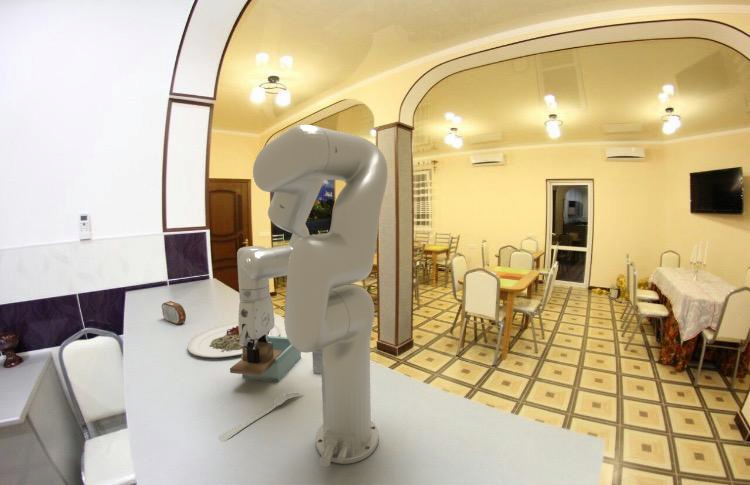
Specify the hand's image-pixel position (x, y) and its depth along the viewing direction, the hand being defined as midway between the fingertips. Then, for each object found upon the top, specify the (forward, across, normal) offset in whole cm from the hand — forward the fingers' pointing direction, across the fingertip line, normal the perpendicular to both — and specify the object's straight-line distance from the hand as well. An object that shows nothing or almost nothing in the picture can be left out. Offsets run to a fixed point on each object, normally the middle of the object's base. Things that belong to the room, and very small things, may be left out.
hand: (258, 358), depth 85 cm
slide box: (+6, +7, 0) cm, 10 cm away
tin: (+7, +34, +61) cm, 70 cm away
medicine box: (+7, +10, -15) cm, 19 cm away
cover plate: (+1, 0, 0) cm, 1 cm away
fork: (+7, -12, -9) cm, 17 cm away
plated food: (+7, +22, +23) cm, 33 cm away
